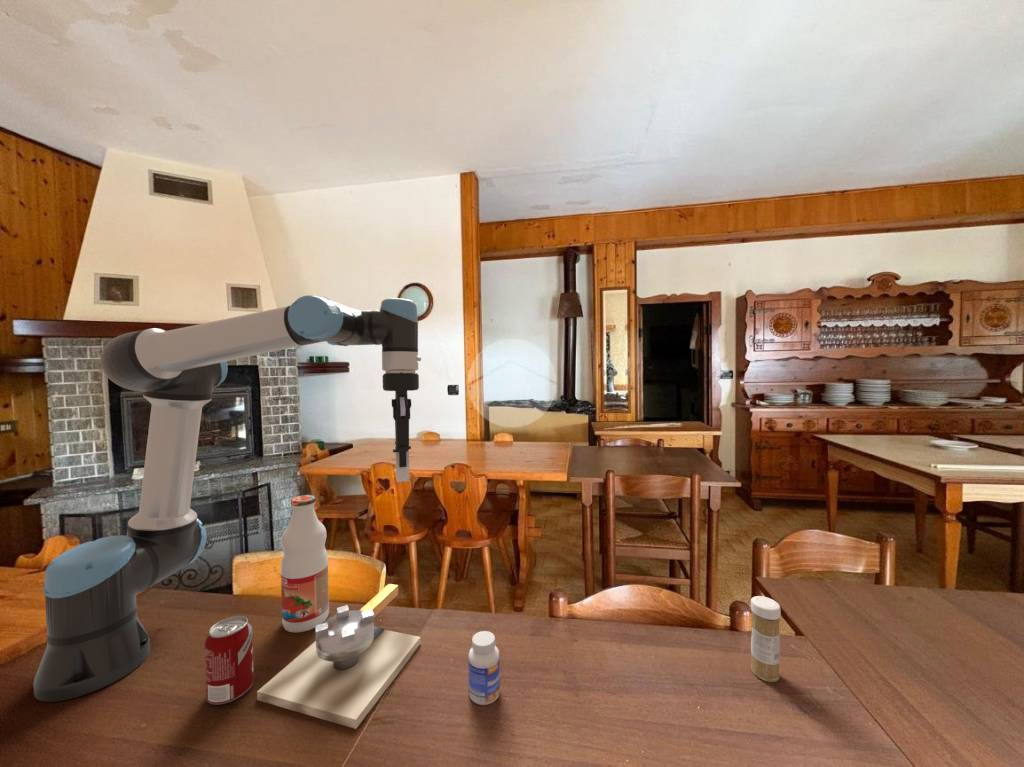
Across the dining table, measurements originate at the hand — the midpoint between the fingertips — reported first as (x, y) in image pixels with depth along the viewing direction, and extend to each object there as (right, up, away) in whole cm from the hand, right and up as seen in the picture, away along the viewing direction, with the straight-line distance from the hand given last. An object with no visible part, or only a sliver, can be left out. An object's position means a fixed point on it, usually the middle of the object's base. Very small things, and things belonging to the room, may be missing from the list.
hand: (402, 480), depth 85 cm
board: (-7, -33, -11) cm, 36 cm away
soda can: (-26, -33, -16) cm, 45 cm away
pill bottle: (+19, -33, -17) cm, 42 cm away
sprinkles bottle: (+70, -32, -13) cm, 78 cm away
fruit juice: (-23, -33, +4) cm, 40 cm away
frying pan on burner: (-6, -27, -6) cm, 29 cm away
